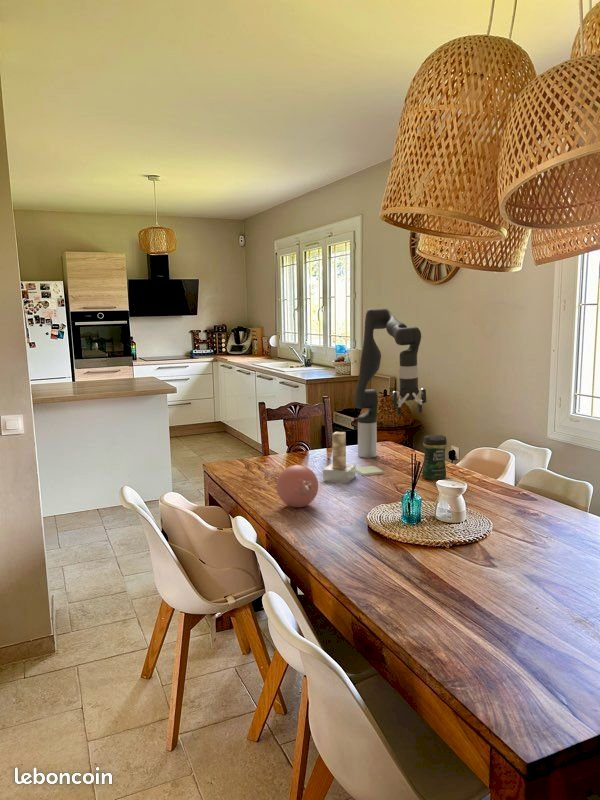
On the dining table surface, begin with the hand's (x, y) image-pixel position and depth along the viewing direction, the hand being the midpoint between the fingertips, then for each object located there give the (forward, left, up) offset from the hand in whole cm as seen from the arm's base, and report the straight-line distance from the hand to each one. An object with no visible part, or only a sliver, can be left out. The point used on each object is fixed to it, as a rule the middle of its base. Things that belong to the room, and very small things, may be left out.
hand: (409, 414), depth 236 cm
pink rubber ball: (+18, -55, -28) cm, 64 cm away
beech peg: (-12, -27, -28) cm, 41 cm away
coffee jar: (+2, +11, -28) cm, 30 cm away
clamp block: (-12, -27, -28) cm, 41 cm away
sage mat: (-17, -11, -28) cm, 35 cm away
